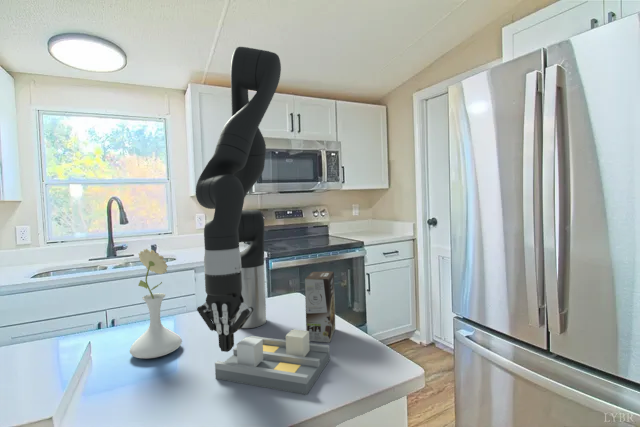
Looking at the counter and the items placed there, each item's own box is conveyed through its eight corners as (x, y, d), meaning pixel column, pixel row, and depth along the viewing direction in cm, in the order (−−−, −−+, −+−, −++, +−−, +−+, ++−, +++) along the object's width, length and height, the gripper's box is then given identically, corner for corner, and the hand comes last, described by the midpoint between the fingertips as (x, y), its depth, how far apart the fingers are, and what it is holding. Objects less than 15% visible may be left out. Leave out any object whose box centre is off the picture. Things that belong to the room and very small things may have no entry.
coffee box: (330, 343, 84) (329, 279, 83) (305, 341, 85) (303, 278, 84) (336, 328, 93) (334, 270, 92) (313, 327, 94) (311, 270, 93)
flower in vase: (190, 350, 82) (185, 248, 80) (140, 369, 73) (134, 255, 72) (167, 336, 90) (163, 244, 89) (120, 351, 82) (115, 250, 81)
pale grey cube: (237, 365, 69) (236, 344, 69) (246, 357, 72) (246, 337, 72) (254, 367, 68) (253, 346, 67) (263, 359, 71) (262, 339, 71)
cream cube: (286, 355, 72) (285, 335, 72) (293, 348, 76) (292, 329, 76) (303, 358, 71) (302, 337, 71) (309, 350, 74) (309, 331, 74)
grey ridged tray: (215, 378, 68) (214, 363, 68) (251, 348, 82) (250, 335, 82) (306, 394, 62) (306, 377, 62) (329, 359, 75) (329, 345, 75)
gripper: (185, 272, 70) (189, 354, 70) (241, 274, 66) (245, 361, 66) (207, 265, 77) (211, 340, 77) (259, 266, 73) (262, 345, 73)
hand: (226, 350), depth 72 cm, fingers closed
